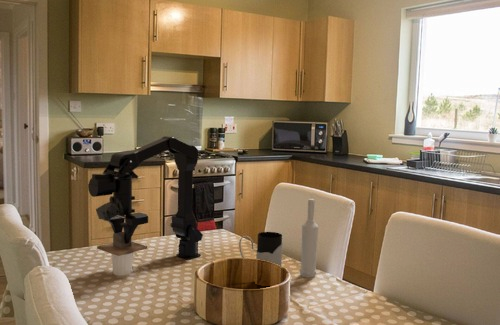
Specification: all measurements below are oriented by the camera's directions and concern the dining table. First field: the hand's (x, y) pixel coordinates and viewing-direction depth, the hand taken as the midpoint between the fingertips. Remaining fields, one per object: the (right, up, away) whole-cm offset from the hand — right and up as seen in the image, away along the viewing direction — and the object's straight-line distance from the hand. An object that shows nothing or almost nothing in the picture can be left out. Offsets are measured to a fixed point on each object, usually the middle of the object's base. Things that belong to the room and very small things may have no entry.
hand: (122, 241), depth 164 cm
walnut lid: (0, -2, 0) cm, 2 cm away
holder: (+43, -12, -2) cm, 45 cm away
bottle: (+59, -12, +4) cm, 60 cm away
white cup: (0, -10, +1) cm, 10 cm away
